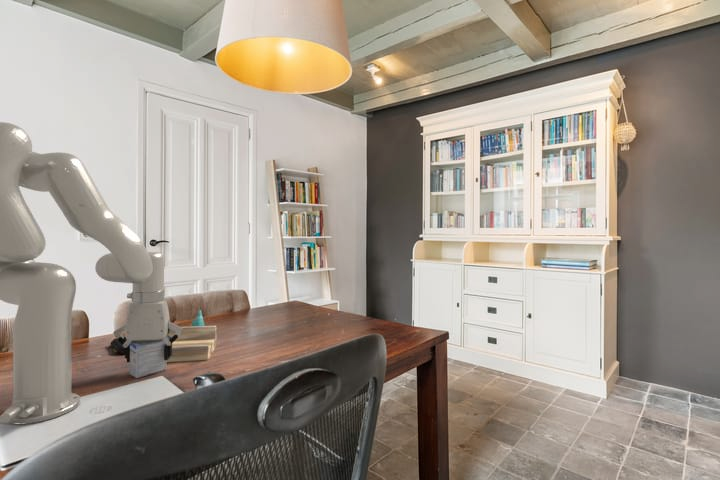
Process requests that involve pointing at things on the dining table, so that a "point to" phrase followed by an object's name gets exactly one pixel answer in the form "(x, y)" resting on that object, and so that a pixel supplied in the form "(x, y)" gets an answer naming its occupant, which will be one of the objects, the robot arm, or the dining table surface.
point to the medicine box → (147, 357)
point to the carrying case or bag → (118, 346)
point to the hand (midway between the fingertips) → (149, 359)
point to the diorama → (198, 320)
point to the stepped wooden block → (193, 343)
